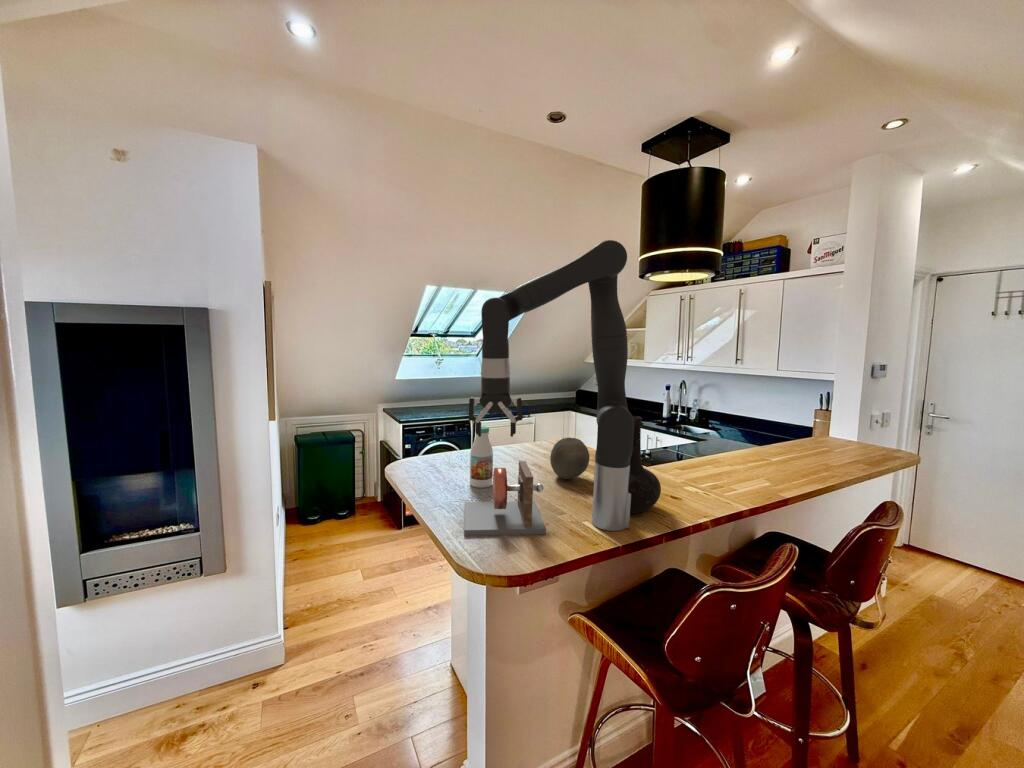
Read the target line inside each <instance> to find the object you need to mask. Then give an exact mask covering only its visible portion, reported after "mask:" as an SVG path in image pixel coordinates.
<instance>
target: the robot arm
mask: <svg viewBox="0 0 1024 768" xmlns="http://www.w3.org/2000/svg"><path fill="white" fill-rule="evenodd" d="M627 261H628V251H627V250H626V248H625V246H624V245H623V244H622V243H620V241H619V242H618V241H616V240H614V239H612V240H611V239H608V240H602V241H601V242H599V243H598V244H597V243H596V245H594V247H592V248H591V249H590V250H588V251H587V252H586V253H584V254H583V255H581V256H580V257H578V258H575V259H574V260H572V261H570V262H569V263H567V264H564V265H563V266H559V268H556V269H554V270H552V271H550V272H547V273H545V274H542V275H540V276H538V277H535V278H533V279H531V280H529V281H526V282H525V283H522V284H521V285H519V286H517V287H515V288H514V289H513V290H512V291H510V292H507V293H505V294H503V295H500V296H499V297H498V296H497V297H495V296H494V297H490V298H488V299H486V300H485V301H484V303H483V304H482V307H481V313H480V314H481V328H482V331H481V332H482V341H481V342H482V343H481V365H480V377H481V378H480V379H481V380H480V381H481V382H480V383H481V384H480V386H481V387H480V393H481V394H480V397H474V396H471V397H470V398H469V400H468V417H467V418H468V421H472V422H474V424H475V428H476V431H475V433H476V434H475V436H476V435H478V437H481V426H482V419H483V418H484V417H485V416H486V414H489V415H495V414H496V415H502V414H505V416H506V417H507V418H508V420H510V438H511V437H512V438H513V437H514V435H516V433H517V422H520V421H523V418H524V417H523V402H522V397H520V396H517V397H511V394H510V393H511V392H510V391H511V388H510V387H511V384H510V383H511V380H510V379H511V378H510V377H511V367H510V359H509V358H510V356H509V355H510V348H509V347H510V343H509V324H510V323H509V321H511V320H514V319H515V318H517V317H519V316H520V315H523V314H524V313H525V314H526V313H528V312H531V311H533V310H535V309H538V308H540V307H543V306H544V305H546V304H548V303H550V302H552V301H554V300H556V299H558V298H559V297H562V296H563V295H565V294H567V293H568V292H570V291H572V290H573V289H576V288H578V287H581V286H582V285H585V284H587V283H588V289H589V294H590V295H589V296H590V331H591V332H590V335H591V336H590V337H591V349H592V350H591V352H592V359H593V366H594V367H593V368H594V373H595V376H596V377H595V378H596V384H597V404H596V405H597V408H596V425H597V432H596V433H597V435H596V436H597V437H596V449H595V454H594V455H595V457H594V472H593V473H594V475H593V489H592V490H593V495H592V513H591V514H592V515H591V523H592V525H593V526H594V527H596V528H598V529H601V530H604V531H608V532H619V531H623V530H626V529H630V521H631V519H630V517H631V513H630V504H631V494H630V493H629V492H628V489H629V472H630V459H631V456H632V449H633V437H634V419H633V416H634V415H633V414H632V413H631V412H630V410H629V408H628V402H627V394H626V384H625V383H626V376H627V375H626V373H627V366H628V356H629V355H628V353H629V349H628V348H629V347H628V345H629V344H628V333H627V326H626V322H625V318H624V315H623V312H622V308H621V306H620V302H619V296H618V277H619V276H618V275H619V274H620V273H622V271H623V270H624V269H625V267H626V265H627ZM478 403H479V404H480V405H481V407H482V410H480V413H479V414H478V415H477V416H476V415H475V407H476V406H477V405H478ZM512 403H513V405H514V406H515V407H516V408H517V409H516V410H517V415H514V414H513V413H512V412H511V410H510V408H509V406H510V405H511V404H512Z"/></svg>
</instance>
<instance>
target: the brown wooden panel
mask: <svg viewBox="0 0 1024 768" xmlns="http://www.w3.org/2000/svg"><path fill="white" fill-rule="evenodd" d="M517 477H518V479H517V485H520V491H517V502H518V507H519V510H520V514H521V517H522V520H523V524H524V525H532V502H533V501H534V499H533V498H534V497H533V496H534V495H533V494H534V491H533V485H534V475H533V474H532V471H531V469H530V467H529V465H528V463H527V461H526V460H522V461H521V460H520V461H518V476H517Z"/></svg>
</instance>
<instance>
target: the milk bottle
mask: <svg viewBox="0 0 1024 768" xmlns="http://www.w3.org/2000/svg"><path fill="white" fill-rule="evenodd" d="M474 431H475V433H474V434H475V438H474V441H473V443H472V445H471V448H470V456H469V458H470V459H469V485H470V486H471V487H473V488H477V489H485V488H488V487H492V486H493V473H494V465H493V463H494V450H493V446H492V444H491V442H490V438H489V434H490V427H489V426H487V425H486V426H485V425H481V437H478V435H476V427H475V429H474Z"/></svg>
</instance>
